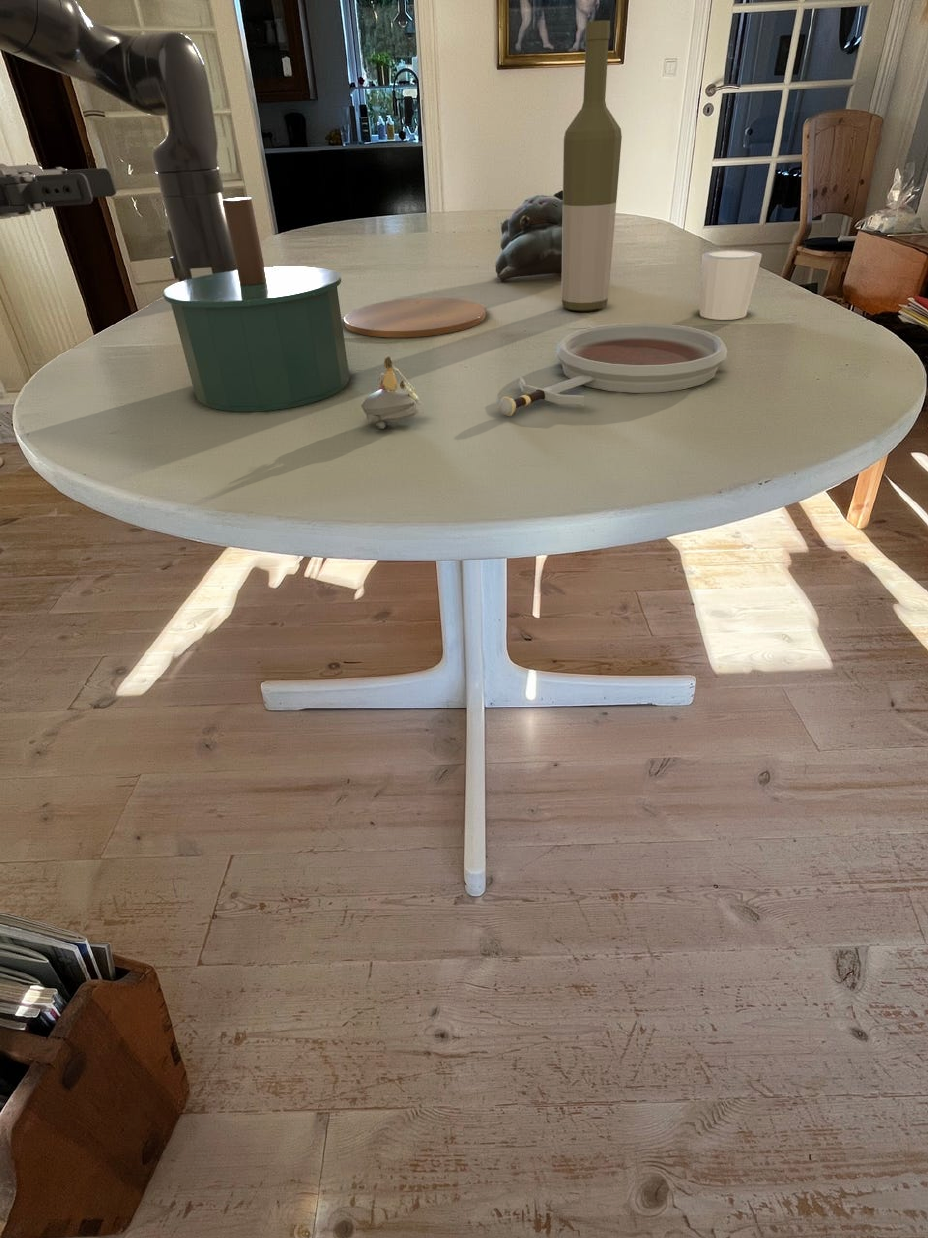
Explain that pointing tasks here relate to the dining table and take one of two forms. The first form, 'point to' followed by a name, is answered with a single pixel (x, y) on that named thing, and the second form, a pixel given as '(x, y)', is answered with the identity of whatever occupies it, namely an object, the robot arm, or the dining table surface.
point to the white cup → (727, 283)
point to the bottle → (590, 184)
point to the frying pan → (629, 362)
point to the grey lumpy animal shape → (532, 238)
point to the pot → (265, 353)
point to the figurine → (390, 400)
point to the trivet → (415, 317)
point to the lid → (249, 272)
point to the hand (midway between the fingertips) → (101, 184)
